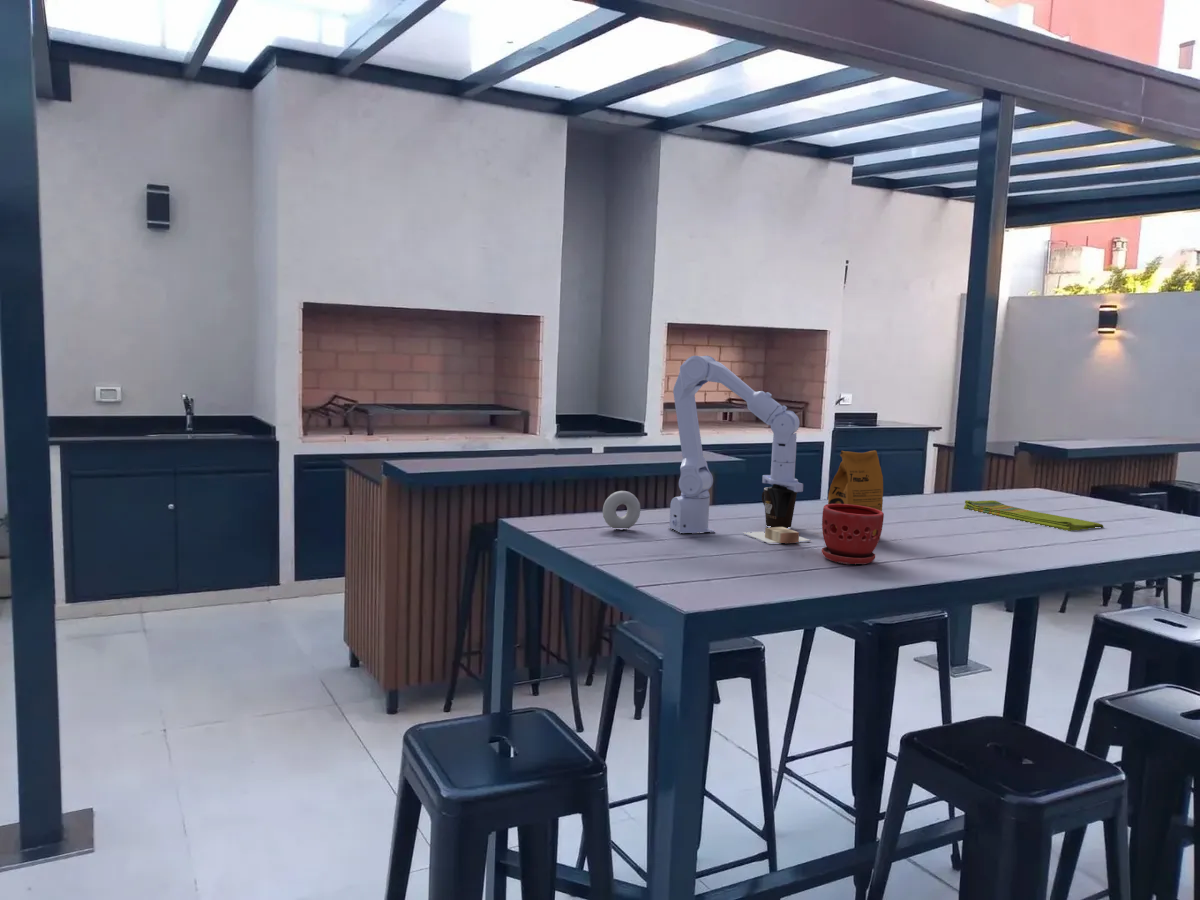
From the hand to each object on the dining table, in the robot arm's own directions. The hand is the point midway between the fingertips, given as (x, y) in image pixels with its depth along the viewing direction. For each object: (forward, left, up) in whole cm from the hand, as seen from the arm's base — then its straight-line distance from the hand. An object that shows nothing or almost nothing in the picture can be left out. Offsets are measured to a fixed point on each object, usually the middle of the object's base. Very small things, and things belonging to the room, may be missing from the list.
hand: (780, 516), depth 224 cm
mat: (+1, +3, -6) cm, 7 cm away
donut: (-33, +21, -6) cm, 39 cm away
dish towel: (+93, +9, -7) cm, 93 cm away
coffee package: (+21, -1, -6) cm, 22 cm away
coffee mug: (+10, +16, -6) cm, 20 cm away
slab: (0, +3, -4) cm, 5 cm away
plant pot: (+4, -22, -6) cm, 23 cm away
